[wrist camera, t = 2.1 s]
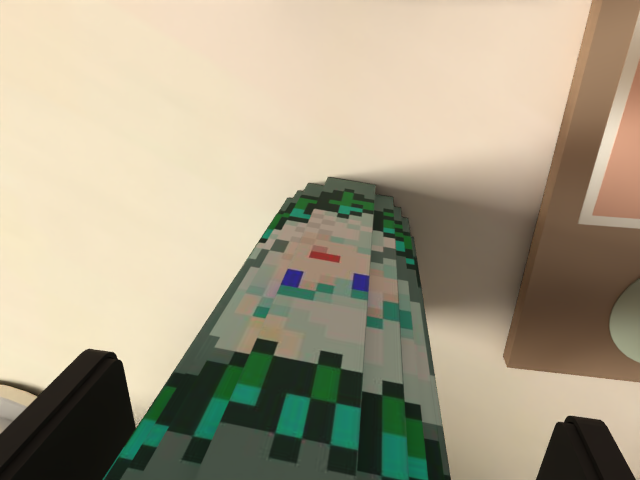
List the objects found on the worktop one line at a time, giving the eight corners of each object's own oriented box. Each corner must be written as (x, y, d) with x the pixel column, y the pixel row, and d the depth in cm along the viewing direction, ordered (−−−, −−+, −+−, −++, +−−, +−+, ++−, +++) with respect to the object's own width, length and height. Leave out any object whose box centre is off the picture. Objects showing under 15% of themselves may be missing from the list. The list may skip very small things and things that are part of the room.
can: (424, 192, 18) (541, 618, 5) (394, 314, 21) (414, 824, 7) (281, 169, 19) (0, 495, 5) (269, 291, 21) (61, 730, 8)
